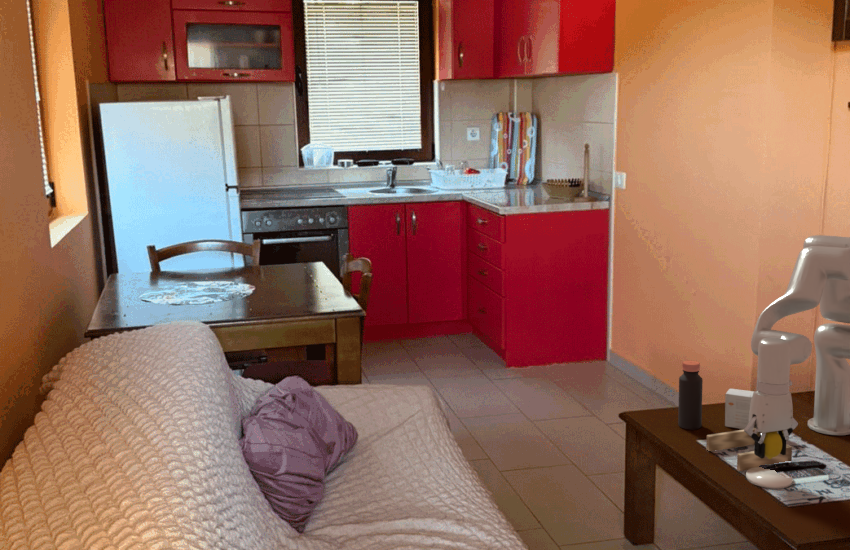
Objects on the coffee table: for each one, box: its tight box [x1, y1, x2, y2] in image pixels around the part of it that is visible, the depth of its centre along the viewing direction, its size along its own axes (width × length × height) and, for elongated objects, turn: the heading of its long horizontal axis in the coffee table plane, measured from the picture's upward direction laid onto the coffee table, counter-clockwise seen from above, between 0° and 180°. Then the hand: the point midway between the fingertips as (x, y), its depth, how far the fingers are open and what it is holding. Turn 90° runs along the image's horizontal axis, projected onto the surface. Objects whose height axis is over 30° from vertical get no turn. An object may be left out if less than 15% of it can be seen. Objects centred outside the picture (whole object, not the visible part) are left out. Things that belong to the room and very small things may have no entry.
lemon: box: [763, 431, 782, 459], centre depth 208 cm, size 6×6×8 cm
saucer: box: [745, 467, 794, 490], centre depth 210 cm, size 11×11×1 cm
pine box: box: [705, 428, 793, 472], centre depth 224 cm, size 16×15×4 cm
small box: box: [724, 388, 754, 430], centre depth 245 cm, size 8×6×10 cm
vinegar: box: [677, 360, 704, 430], centre depth 245 cm, size 7×7×20 cm
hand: (769, 454), depth 208 cm, fingers closed on lemon, 5 cm apart
